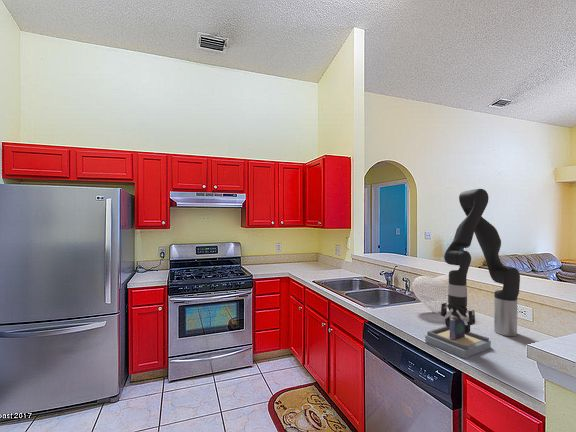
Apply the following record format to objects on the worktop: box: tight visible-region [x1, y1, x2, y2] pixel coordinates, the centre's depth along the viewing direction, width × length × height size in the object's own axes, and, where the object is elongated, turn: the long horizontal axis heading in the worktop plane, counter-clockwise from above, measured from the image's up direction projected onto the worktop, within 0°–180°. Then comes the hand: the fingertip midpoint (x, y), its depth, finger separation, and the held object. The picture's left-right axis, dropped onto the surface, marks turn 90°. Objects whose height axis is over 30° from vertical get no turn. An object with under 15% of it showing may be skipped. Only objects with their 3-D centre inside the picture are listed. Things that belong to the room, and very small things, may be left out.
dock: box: [424, 325, 492, 359], centre depth 134 cm, size 20×18×4 cm
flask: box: [450, 316, 465, 340], centre depth 134 cm, size 9×3×11 cm, turn 117°
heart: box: [411, 274, 449, 314], centre depth 177 cm, size 28×16×22 cm, turn 98°
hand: (457, 329), depth 134 cm, fingers open, 8 cm apart
